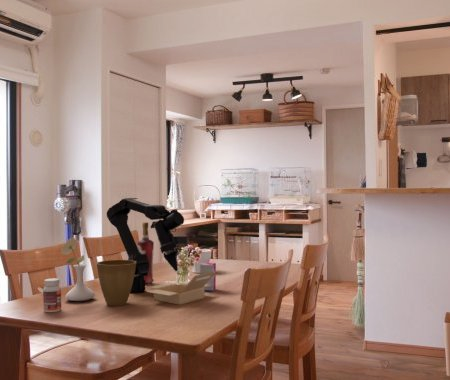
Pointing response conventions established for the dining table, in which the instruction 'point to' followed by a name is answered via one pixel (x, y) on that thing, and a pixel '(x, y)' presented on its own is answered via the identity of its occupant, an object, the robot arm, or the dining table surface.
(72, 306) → the dining table surface
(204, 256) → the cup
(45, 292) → the pill bottle
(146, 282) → the liquor
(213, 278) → the supplement box
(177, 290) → the carton
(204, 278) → the flap
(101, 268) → the plant pot
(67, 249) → the flower in vase
